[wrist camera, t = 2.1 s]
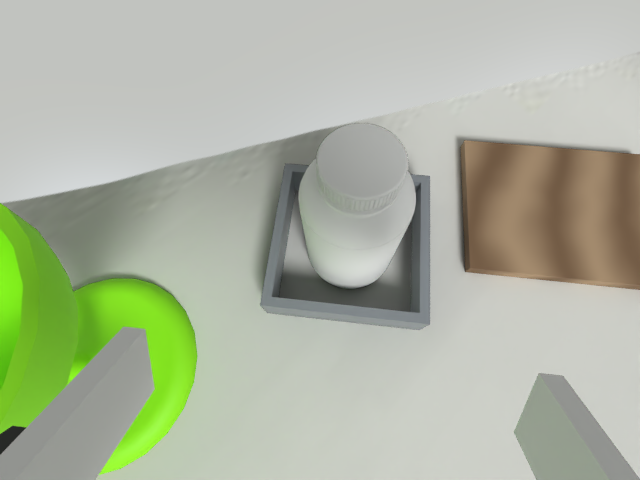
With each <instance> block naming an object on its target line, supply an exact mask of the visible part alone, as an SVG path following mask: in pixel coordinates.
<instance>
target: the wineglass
mask: <svg viewBox="0 0 640 480" xmlns="http://www.w3.org/2000/svg"><path fill="white" fill-rule="evenodd" d="M123 327H132V328H141V329H145V330H146V337H147V343H148V349H149V356H150V362H151V368H152V375H153V381H154V387H155V390H154V391H153V393H152V394H151V396H150V397H149V399H148V400H147V402H146V403H145V405H144V406H143V408H142V409H141V411H140V412H139V414H138V416H137V417H136V419H135V420H134V422H133V423H132V425H131V426H130V428H129V429H128V431H127V432H126V434H125V435H124V437H123V438H122V440H121V441H120V443H119V444H118V446H117V448H116V449H115V451H114V452H113V454H112V455H111V457H110V458H109V460H108V461H107V463H106V464H105V466H104V467H103V469H102V470H101V472H100V473H99V475H100V474H104V473H107V472H111V471H114V470H118V469H121V468H123V467H124V466H126V465H128V464H129V463H131V462H133V461H134V460H136V459H138V458H140V457H141V456H143V455H145V454H146V453H147V452H148V451H149V450H150V449H151V448H152V447H153V446H154V445H156V444H157V443H158V442H159V441H160V440H161V439H162V438H163V437H164V436H165V435H166V434H167V433H168V431H169V430H170V428H171V427H172V425H173V424H174V422H175V421H176V419H177V418H178V416H179V415H180V413H181V412H182V410H183V409H184V407H185V404H186V401H187V399H188V396H189V393H190V391H191V388H192V386H193V383H194V377H195V369H196V362H197V350H196V341H195V333H194V330H193V328H192V325H191V323H190V320H189V318H188V316H187V313H186V311H185V310H184V309H183V308H182V306H181V305H180V304H179V303H178V302H177V300H176V299H175V298H174V297H173V296H172V295H171V294H169V293H168V292H166V291H165V290H163V289H162V288H160V287H159V286H157V285H156V284H152V283H149V282H145V281H142V280H138V279H123V278H112V279H108V280H103V281H99V282H95V283H91V284H88V285H86V286H84V287H82V288H80V289H78V290H75V291H73V289H72V286H71V283H70V279H69V277H68V275H67V273H66V272H65V270H64V268H63V266H62V265H61V263H60V261H59V259H58V258H57V256H56V255H55V254H54V252H53V251H52V249H51V248H50V247H49V245H48V244H47V243H46V241H45V240H44V238H43V237H42V236H41V234H40V233H39V232H38V230H37V229H35V228H34V227H32V226H31V225H30V224H28V223H27V222H26V221H24V220H23V219H22V218H20V217H19V216H18V215H16V214H15V213H14V212H12V211H11V210H9V209H8V208H7V207H5V206H4V205H2V204H1V203H0V434H1V433H2V432H4V431H5V430H7V429H8V428H10V427H11V426H19V427H28V425H29V424H30V423H31V422H32V421H33V420H34V419H35V418H36V417H37V416H38V415H39V414H40V413H41V412H42V411H43V410H44V409H45V408H46V407H47V406H48V405H49V404H50V403H51V402H52V401H53V399H54V398H55V397H56V396H57V395H58V394H59V393H60V392H61V391H62V390H63V389H64V388H65V387H66V386H67V385H68V384H69V383H70V382H71V381H72V380H73V379H74V378H75V377H76V376H77V374H78V373H79V372H80V371H81V370H82V369H83V368H84V367H85V366H86V365H87V364H88V363H89V362H90V361H91V360H92V359H93V358H94V357H95V356H96V355H97V354H98V353H99V352H100V351H101V350H102V348H103V347H104V346H105V345H106V344H107V343H108V342H109V341H110V340H111V339H112V338H113V337H114V336H115V335H116V334H117V333H118V332H119V331H120V330H121V329H122V328H123Z"/></svg>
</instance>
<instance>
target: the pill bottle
mask: <svg viewBox="0 0 640 480" xmlns="http://www.w3.org/2000/svg"><path fill="white" fill-rule="evenodd" d="M407 157H408V155H407V152H406V150H405V147H404V146H403V144H402V143H401V141H400V140H399V139H398V138H397V137H396V136H395V135H394V134H393V133H391V132H390V131H388V130H387V129H385V128H383V127H380V126H377V125H374V124H369V123H354V124H348V125H345V126H342V127H340V128H338V129H336V130H334V131H333V132H331V133H330V134H329V135H328V136H327V137H326V138H325V139H324V140H323V142H322V143H321V145H320V146H319V149H318V151H317V154H316V159H315V160H314V161H313V162H312V163H311V164H310V165H309V167H308V168H307V170H306V172H305V173H304V176H303V178H302V180H301V183H300V187H299V194H298V201H299V209H300V214H301V219H302V225H303V230H304V235H305V240H306V246H307V251H308V256H309V259H310V262H311V264H312V266H313V268H314V269H315V271H316V272H317V273H318V275H319V276H320V277H321V278H323V279H324V280H325V281H327V282H328V283H330V284H332V285H334V286H337V287H341V288H347V289H353V288H360V287H364V286H367V285H369V284H371V283H373V282H374V281H376V280H377V279H378V278H379V277H380V276H381V275H382V274H383V273H384V272H385V270H386V269H387V267H388V266H389V264H390V262H391V260H392V258H393V256H394V254H395V252H396V250H397V248H398V246H399V244H400V242H401V240H402V238H403V236H404V234H405V232H406V230H407V228H408V226H409V224H410V221H411V219H412V217H413V214H414V210H415V206H416V192H415V186H414V183H413V180H412V177H411V175H410V173H409V171H408V164H409V162H408V158H407Z"/></svg>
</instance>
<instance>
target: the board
mask: <svg viewBox="0 0 640 480" xmlns="http://www.w3.org/2000/svg"><path fill="white" fill-rule="evenodd" d="M460 148H461V174H462V200H463V226H464V252H465V272H472V273H481V274H491V275H501V276H511V277H520V278H530V279H540V280H550V281H560V282H569V283H579V284H589V285H599V286H608V287H618V288H628V289H638V290H640V154H628V153H615V152H603V151H590V150H578V149H565V148H553V147H541V146H528V145H516V144H503V143H491V142H478V141H466V140H464V142H463V144H462V146H461V147H460Z"/></svg>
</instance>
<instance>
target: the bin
mask: <svg viewBox="0 0 640 480" xmlns="http://www.w3.org/2000/svg"><path fill="white" fill-rule="evenodd" d="M308 167H309V165H298V164H286V163H285V167H284V173H283V179H282V184H281V190H280V196H279V201H278V207H277V213H276V218H275V224H274V230H273V235H272V241H271V247H270V252H269V258H268V264H267V269H266V275H265V281H264V286H263V292H262V298H261V303H260V306H261V307H262V308H263V309H264V310H265V311H266V312H267V313H273V314H282V315H291V316H299V317H308V318H317V319H326V320H335V321H344V322H353V323H361V324H370V325H379V326H388V327H397V328H406V329H415V330H420V329H422V328H424V327H426V326H428V325H430V176H425V175H413V174H410V175H411V177H412V180H413V183H414V186H415V192H416V206H415V210H414V214H413V217H412V252H411V301H410V312H405V311H396V310H387V309H378V308H369V307H360V306H351V305H342V304H333V303H324V302H315V301H306V300H296V299H287V298H278V297H279V290H280V284H281V278H282V271H283V265H284V259H285V253H286V246H287V240H288V234H289V227H290V221H291V215H292V209H293V202H294V196H295V190H299V187H300V183H301V180H302V178H303V176H304V173H305V172H306V170H307V168H308Z"/></svg>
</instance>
